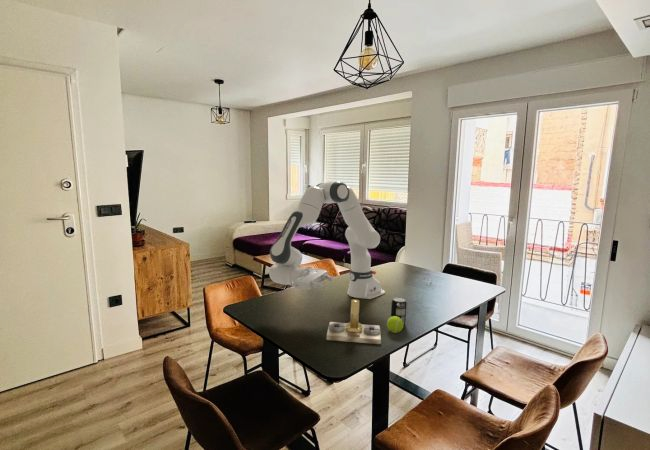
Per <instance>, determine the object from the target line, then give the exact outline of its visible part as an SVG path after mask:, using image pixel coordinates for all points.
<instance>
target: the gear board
mask: <svg viewBox="0 0 650 450" xmlns="http://www.w3.org/2000/svg"><path fill="white" fill-rule="evenodd" d="M349 323H350V321H348V322H336V321H330V322H329V324H328V328H327V332H326V340H327V341H336V342H337V341H338V342H350V343H351V342H352V343H360V344H361V343H363V344H375V345H381V344H382V337H381V327H380V326H381V325H378V324H377V325H376V324H365V323H364V324H362V323H361V322H358V324H360V325H362V332H361V333H348V332H347V331H346V325H347V324H349Z"/></svg>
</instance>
